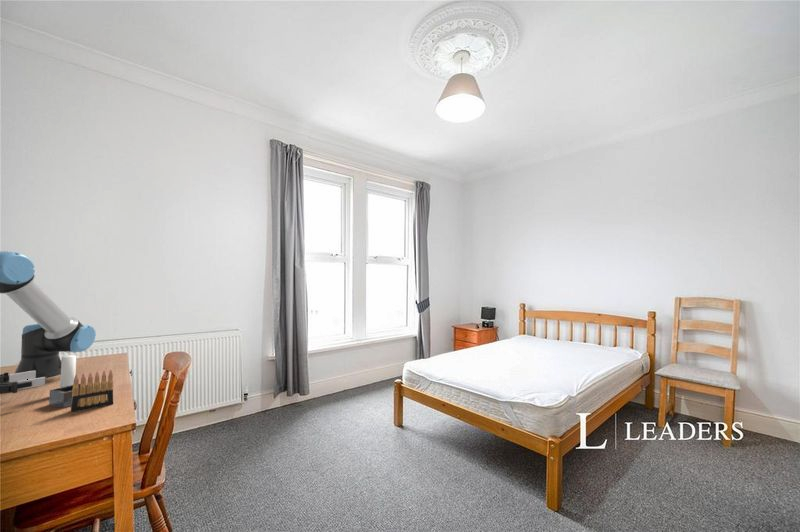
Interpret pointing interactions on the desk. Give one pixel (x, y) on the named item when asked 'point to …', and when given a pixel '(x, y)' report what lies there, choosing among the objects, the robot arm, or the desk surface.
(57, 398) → the square open box
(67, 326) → the robot arm
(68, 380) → the cylinder
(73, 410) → the ammunition clip
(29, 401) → the desk surface
